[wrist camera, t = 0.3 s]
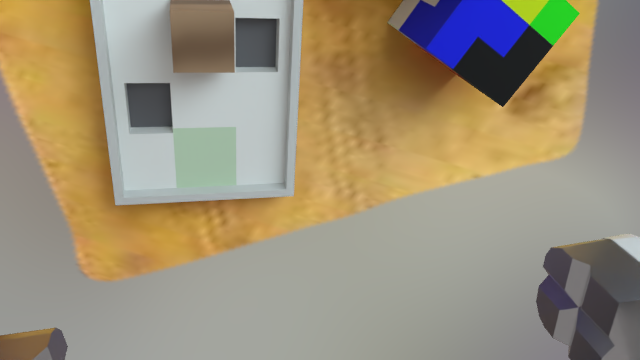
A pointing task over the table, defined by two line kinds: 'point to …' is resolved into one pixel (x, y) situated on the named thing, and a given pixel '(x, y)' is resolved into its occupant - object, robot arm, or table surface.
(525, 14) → the puzzle toy
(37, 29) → the table surface
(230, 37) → the walnut block
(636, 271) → the robot arm
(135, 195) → the platform
